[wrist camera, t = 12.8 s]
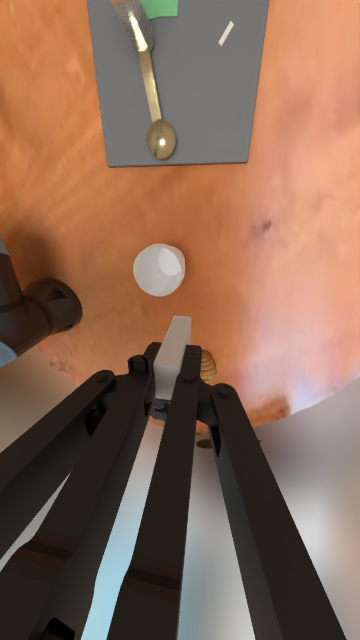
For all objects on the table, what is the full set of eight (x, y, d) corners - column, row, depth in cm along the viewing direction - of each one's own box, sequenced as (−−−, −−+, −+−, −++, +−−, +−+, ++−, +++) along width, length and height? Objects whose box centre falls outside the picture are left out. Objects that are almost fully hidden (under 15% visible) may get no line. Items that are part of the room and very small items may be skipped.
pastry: (191, 349, 53) (189, 357, 50) (215, 349, 52) (215, 357, 49) (193, 375, 57) (192, 384, 54) (216, 375, 56) (216, 385, 53)
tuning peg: (178, 155, 33) (158, 112, 21) (152, 163, 35) (119, 128, 22) (150, -12, 26) (93, -230, 14) (118, 6, 27) (38, -179, 15)
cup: (163, 231, 41) (145, 233, 30) (198, 255, 42) (193, 264, 31) (145, 267, 45) (124, 280, 34) (177, 288, 46) (166, 306, 35)
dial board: (110, 167, 37) (107, 165, 36) (89, 0, 28) (84, -9, 27) (246, 163, 34) (247, 161, 33) (272, -30, 25) (274, -41, 24)
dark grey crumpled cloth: (172, 361, 57) (169, 371, 52) (183, 411, 66) (181, 424, 62) (125, 362, 60) (119, 372, 56) (142, 410, 69) (137, 422, 65)
